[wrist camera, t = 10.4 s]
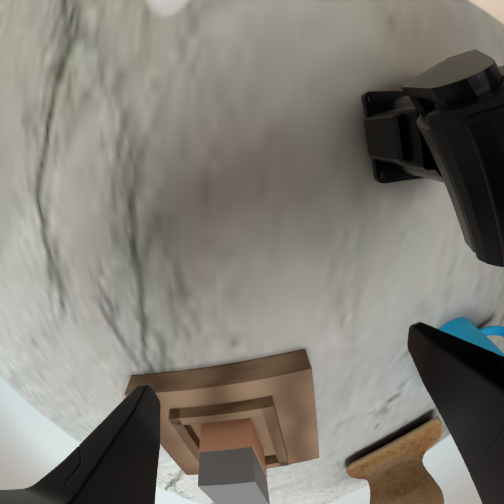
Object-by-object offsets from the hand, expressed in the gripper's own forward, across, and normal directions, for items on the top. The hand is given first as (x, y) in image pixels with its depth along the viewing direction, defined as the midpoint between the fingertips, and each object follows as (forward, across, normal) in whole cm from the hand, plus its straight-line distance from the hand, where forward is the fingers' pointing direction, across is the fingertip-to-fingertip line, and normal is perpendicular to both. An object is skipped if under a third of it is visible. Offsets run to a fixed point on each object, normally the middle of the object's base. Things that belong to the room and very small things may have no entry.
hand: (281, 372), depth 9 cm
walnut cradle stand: (+12, +6, +18) cm, 22 cm away
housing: (+10, +6, +18) cm, 21 cm away
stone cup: (+12, -13, +36) cm, 41 cm away
